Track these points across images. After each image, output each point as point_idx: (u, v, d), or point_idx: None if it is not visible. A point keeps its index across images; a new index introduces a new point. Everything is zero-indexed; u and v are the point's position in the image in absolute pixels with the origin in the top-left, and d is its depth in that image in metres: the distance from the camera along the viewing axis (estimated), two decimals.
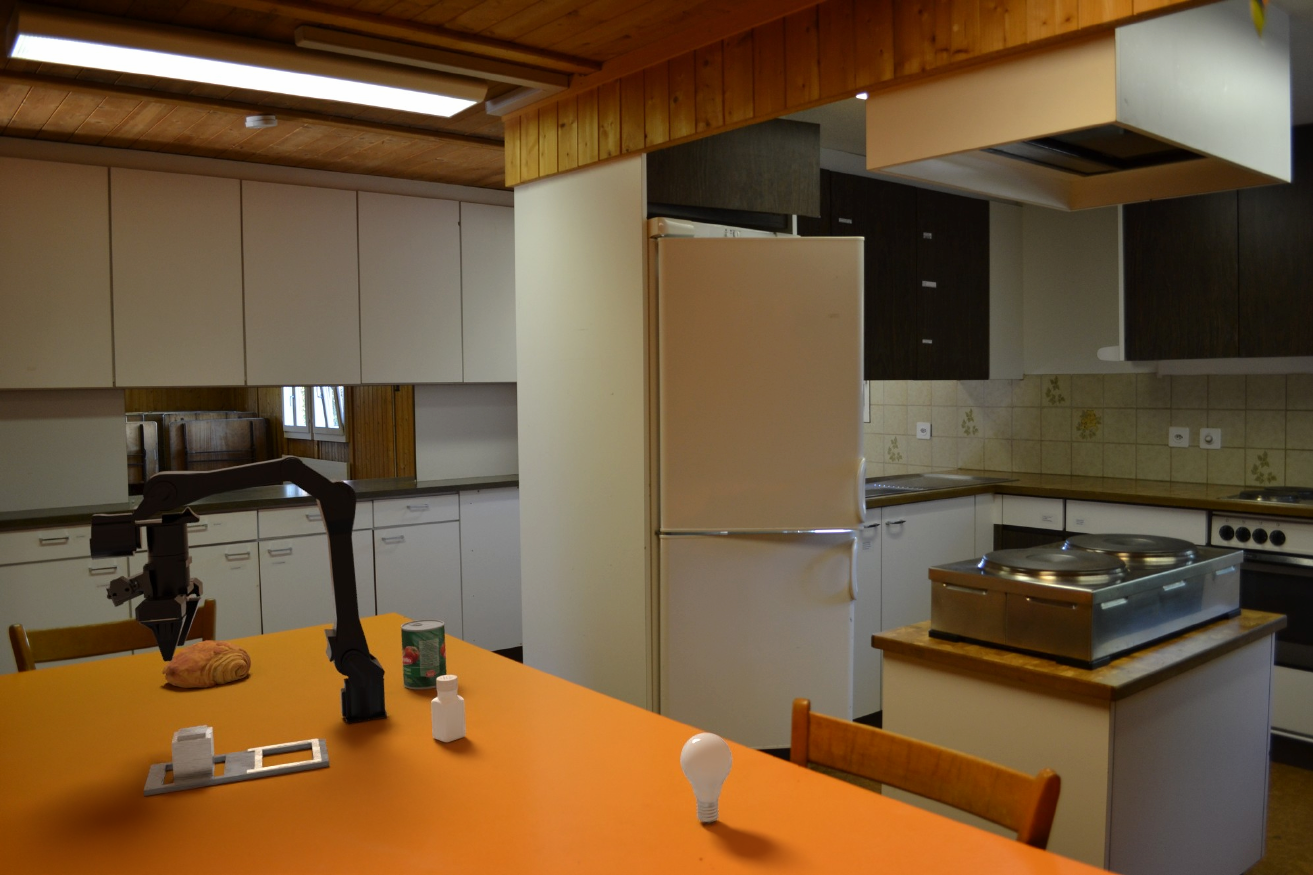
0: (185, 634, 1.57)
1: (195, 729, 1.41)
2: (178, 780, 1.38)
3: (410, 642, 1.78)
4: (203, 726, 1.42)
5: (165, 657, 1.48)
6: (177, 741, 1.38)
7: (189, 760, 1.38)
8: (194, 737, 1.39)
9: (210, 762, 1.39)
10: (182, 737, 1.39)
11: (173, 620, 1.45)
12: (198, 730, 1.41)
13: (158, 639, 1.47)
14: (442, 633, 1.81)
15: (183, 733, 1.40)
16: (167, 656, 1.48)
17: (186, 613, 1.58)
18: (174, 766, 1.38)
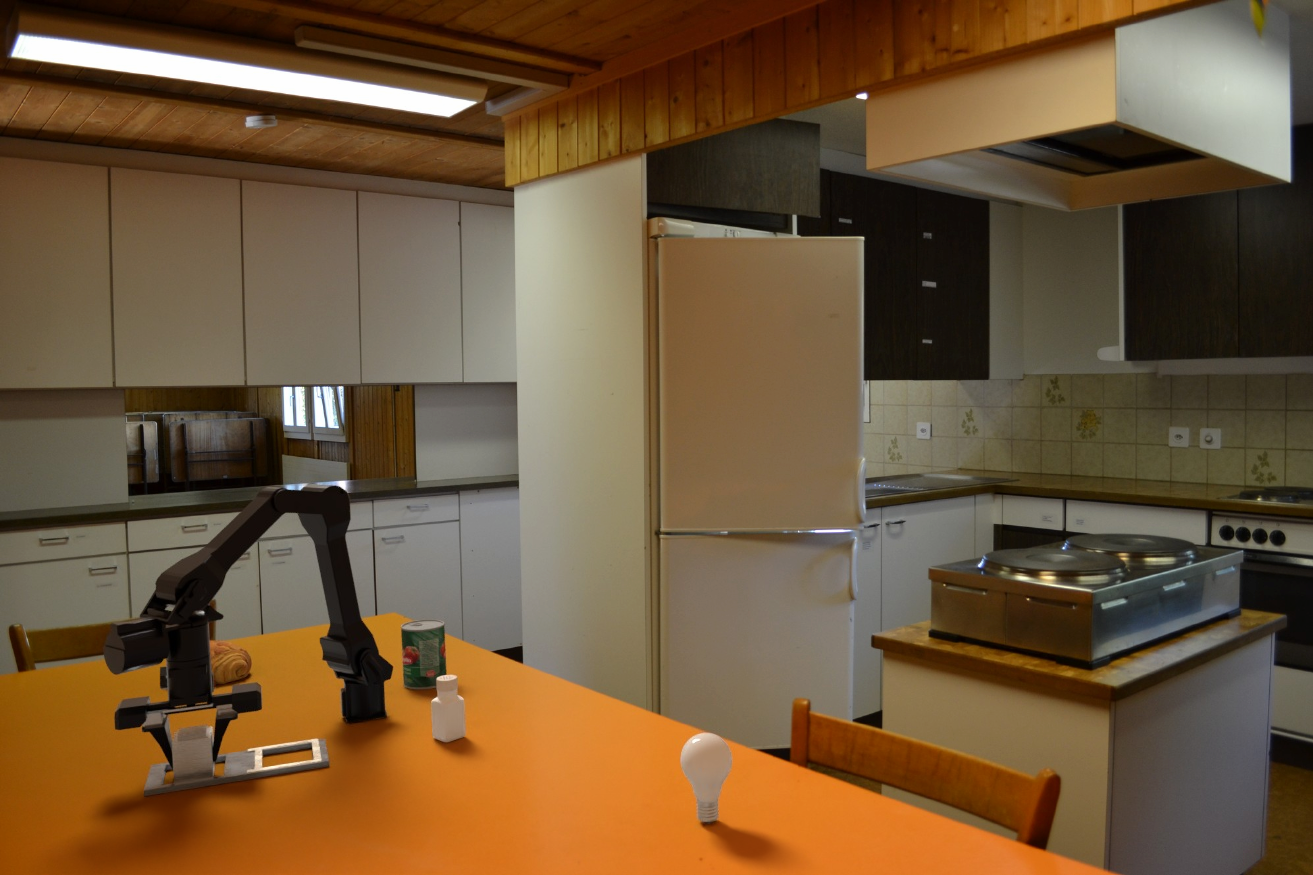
0: None
1: (195, 729, 1.41)
2: (178, 780, 1.38)
3: (410, 642, 1.78)
4: (203, 726, 1.42)
5: None
6: (177, 741, 1.38)
7: (189, 759, 1.38)
8: (195, 737, 1.39)
9: (210, 762, 1.39)
10: (182, 737, 1.39)
11: (142, 728, 1.37)
12: (198, 730, 1.41)
13: None
14: (442, 633, 1.81)
15: (183, 733, 1.40)
16: None
17: None
18: (174, 765, 1.38)
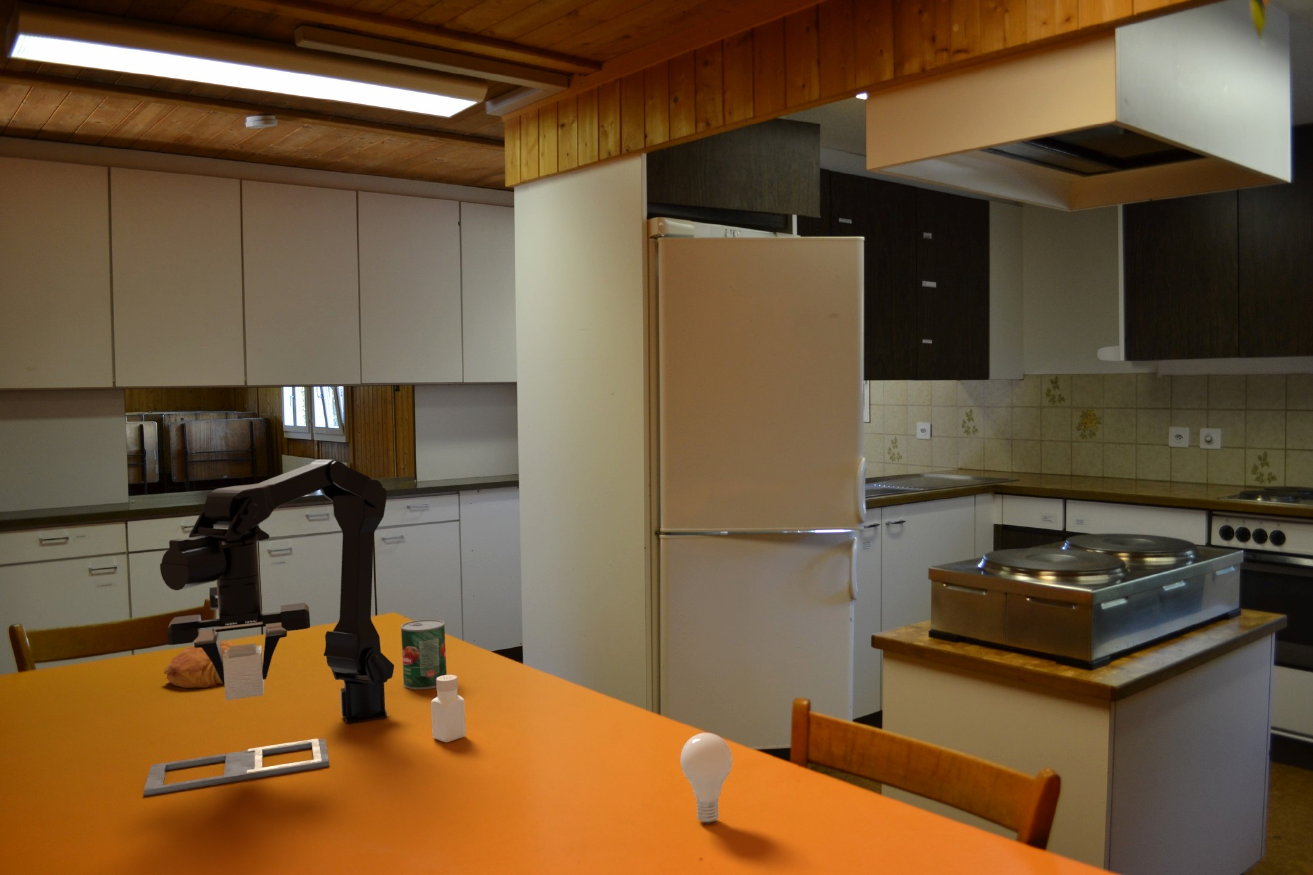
0: None
1: (245, 647, 1.43)
2: (230, 695, 1.40)
3: (410, 642, 1.78)
4: (252, 644, 1.44)
5: None
6: (228, 657, 1.40)
7: (240, 675, 1.41)
8: (245, 654, 1.41)
9: (260, 678, 1.42)
10: (233, 653, 1.41)
11: (194, 644, 1.39)
12: (248, 647, 1.43)
13: None
14: (442, 633, 1.81)
15: (234, 650, 1.42)
16: None
17: (264, 646, 1.43)
18: (226, 681, 1.40)
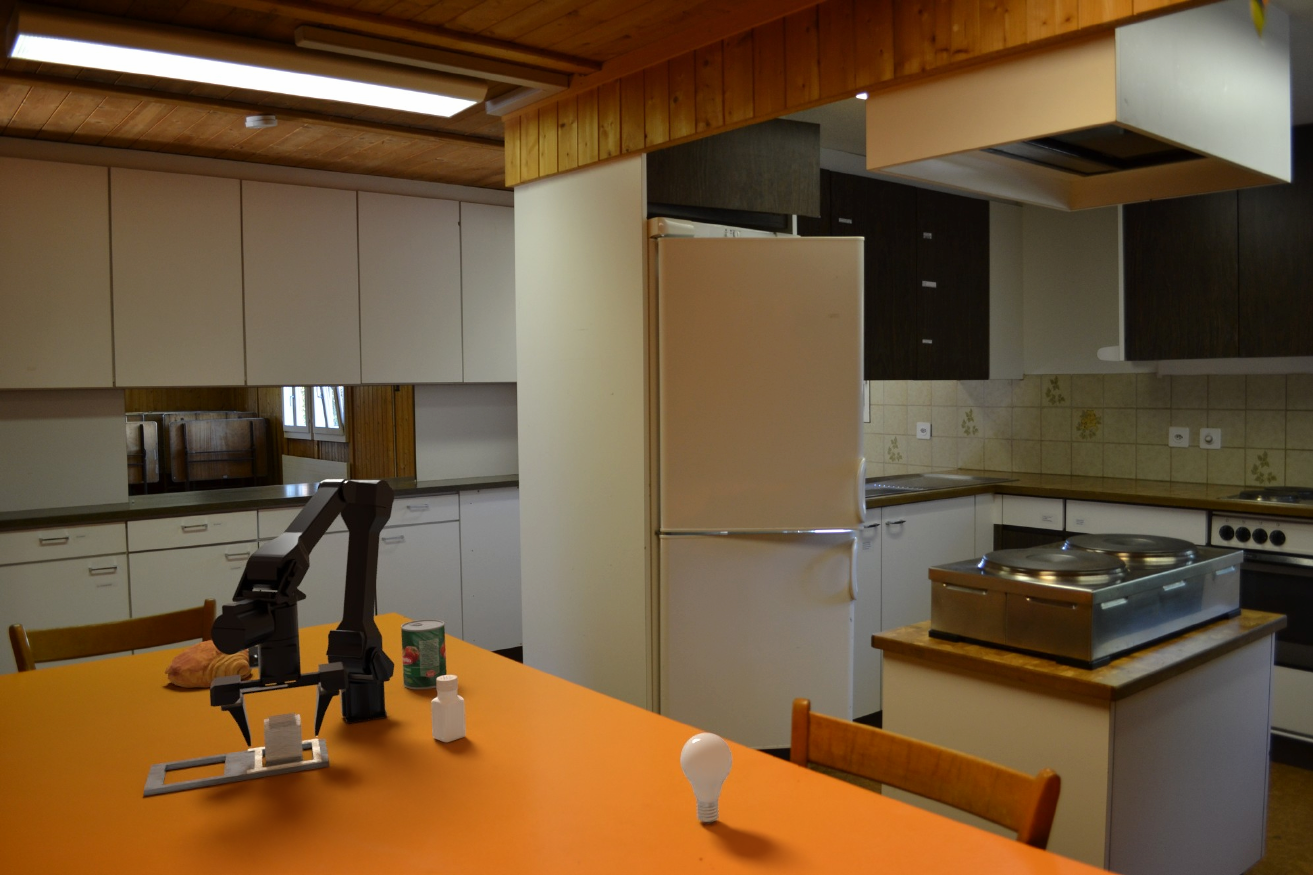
0: (315, 725, 1.46)
1: (284, 716, 1.45)
2: None
3: (410, 642, 1.78)
4: (292, 714, 1.47)
5: None
6: (269, 728, 1.42)
7: (281, 746, 1.43)
8: (285, 724, 1.44)
9: (300, 748, 1.44)
10: (273, 724, 1.43)
11: (221, 707, 1.40)
12: (288, 717, 1.45)
13: None
14: (442, 633, 1.81)
15: (274, 720, 1.44)
16: None
17: (317, 704, 1.46)
18: (266, 752, 1.42)
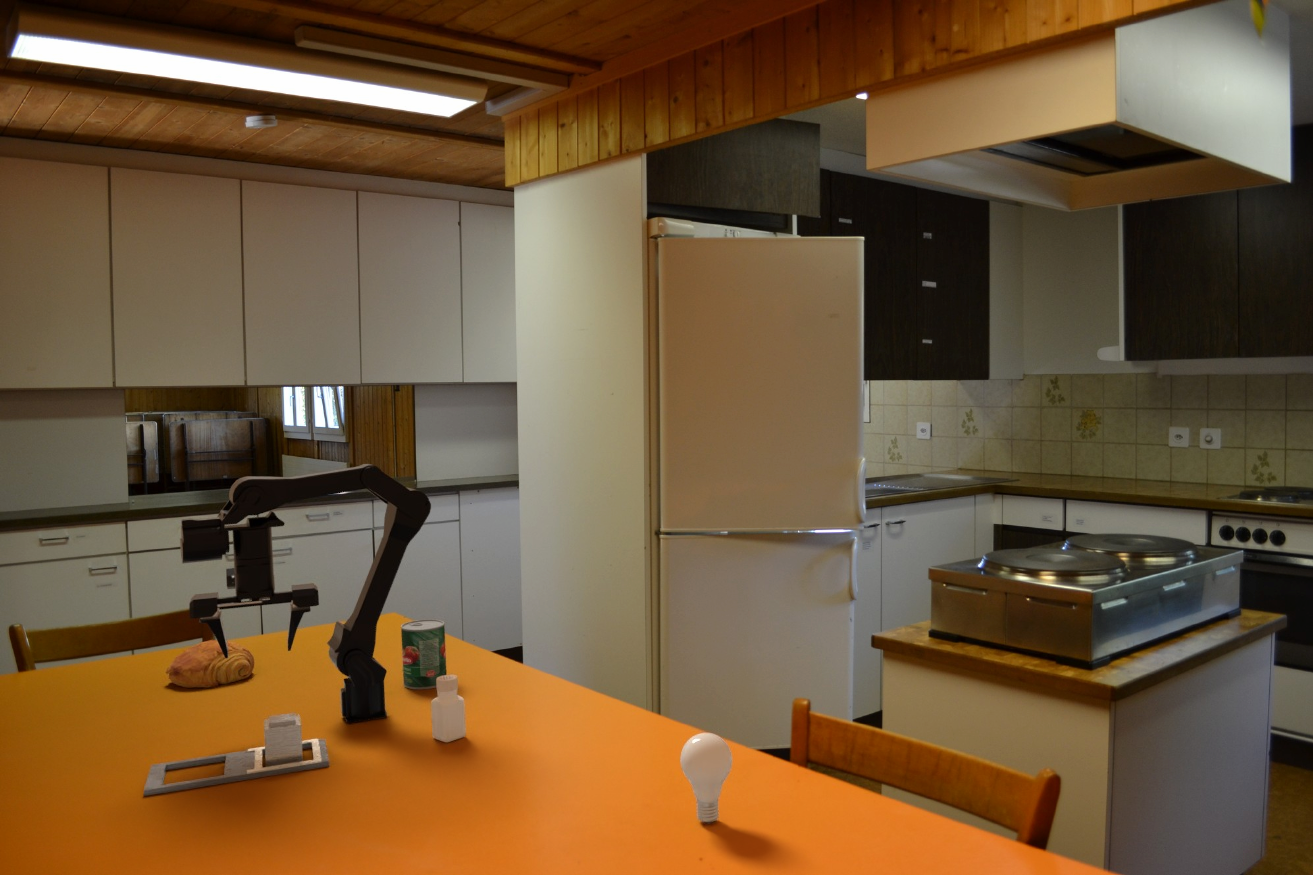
0: (287, 640, 1.57)
1: (284, 716, 1.46)
2: (270, 765, 1.42)
3: (410, 642, 1.78)
4: (291, 714, 1.47)
5: None
6: (269, 728, 1.42)
7: (281, 746, 1.43)
8: (285, 724, 1.44)
9: (300, 748, 1.44)
10: (273, 724, 1.43)
11: None
12: (288, 717, 1.45)
13: None
14: (442, 633, 1.81)
15: (274, 720, 1.44)
16: None
17: None
18: (266, 752, 1.42)
